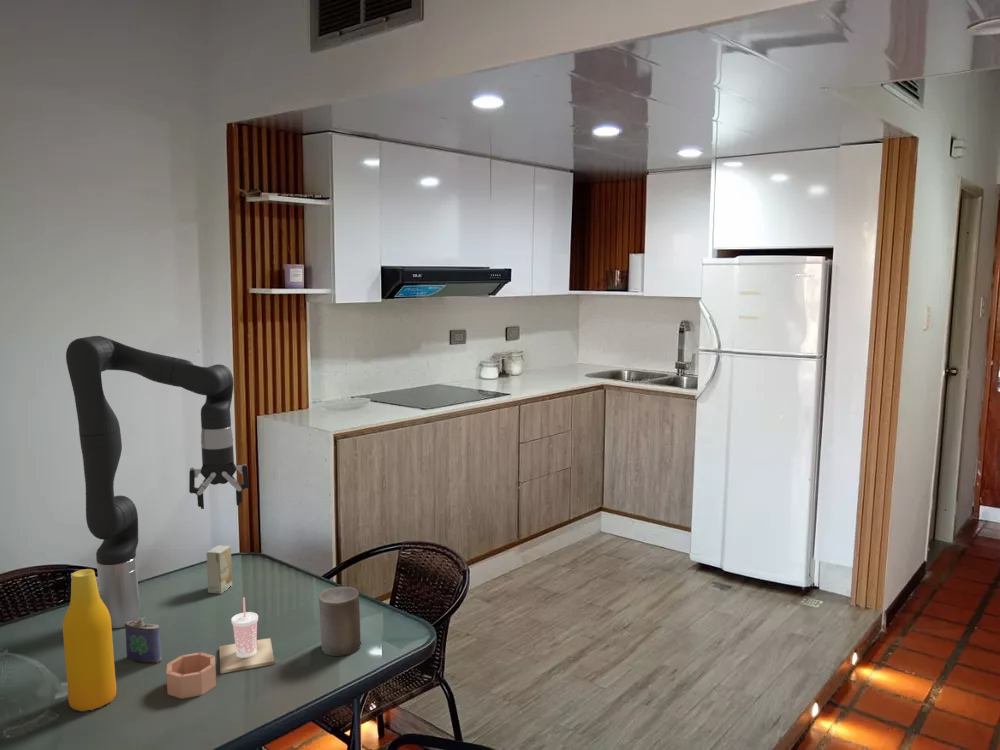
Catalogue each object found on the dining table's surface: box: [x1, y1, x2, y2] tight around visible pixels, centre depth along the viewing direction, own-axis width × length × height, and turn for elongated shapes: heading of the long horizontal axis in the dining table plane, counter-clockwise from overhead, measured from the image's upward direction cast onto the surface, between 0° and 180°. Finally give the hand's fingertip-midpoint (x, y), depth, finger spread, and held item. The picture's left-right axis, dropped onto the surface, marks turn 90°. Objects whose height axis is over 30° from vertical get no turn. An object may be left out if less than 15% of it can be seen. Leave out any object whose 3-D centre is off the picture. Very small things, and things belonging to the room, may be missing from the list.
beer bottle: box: [62, 568, 117, 710], centre depth 166 cm, size 9×9×29 cm
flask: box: [124, 616, 162, 665], centre depth 184 cm, size 9×3×11 cm, turn 74°
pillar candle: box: [318, 586, 362, 657], centre depth 190 cm, size 10×10×15 cm
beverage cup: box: [230, 597, 259, 658], centre depth 186 cm, size 6×6×14 cm
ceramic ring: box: [165, 651, 217, 699], centre depth 174 cm, size 10×10×5 cm
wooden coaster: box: [219, 637, 275, 674], centre depth 186 cm, size 12×12×1 cm
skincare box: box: [206, 544, 233, 595], centre depth 224 cm, size 6×4×12 cm
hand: (220, 506), depth 198 cm, fingers open, 8 cm apart
